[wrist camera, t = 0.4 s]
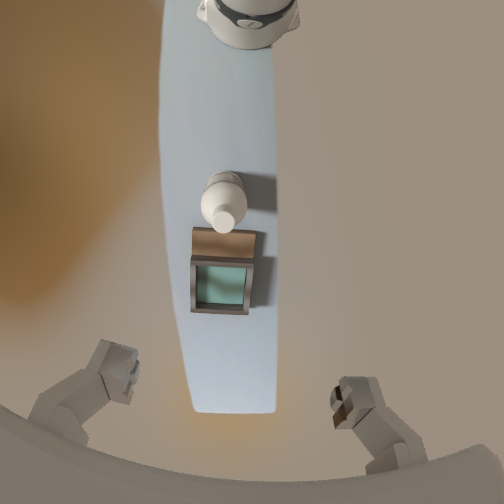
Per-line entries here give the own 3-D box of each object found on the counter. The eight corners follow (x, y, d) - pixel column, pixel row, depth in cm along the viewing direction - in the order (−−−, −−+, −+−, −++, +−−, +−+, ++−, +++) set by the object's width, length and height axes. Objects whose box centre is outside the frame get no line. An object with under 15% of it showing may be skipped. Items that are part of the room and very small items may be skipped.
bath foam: (238, 209, 55) (244, 254, 37) (202, 202, 54) (190, 243, 36) (247, 175, 53) (258, 202, 35) (210, 166, 51) (201, 189, 33)
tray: (193, 227, 56) (190, 235, 52) (254, 230, 57) (257, 239, 53) (192, 304, 63) (190, 316, 59) (246, 306, 65) (247, 318, 61)
